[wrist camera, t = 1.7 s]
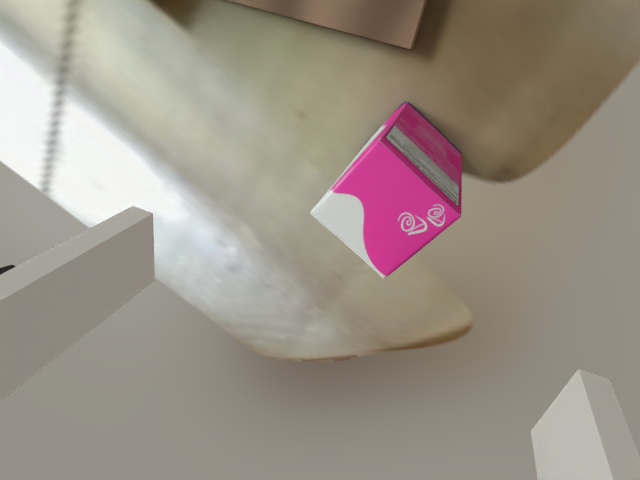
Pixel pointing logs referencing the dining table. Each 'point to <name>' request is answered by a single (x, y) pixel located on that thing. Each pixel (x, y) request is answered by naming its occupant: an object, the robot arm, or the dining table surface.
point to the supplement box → (395, 192)
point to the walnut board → (355, 16)
